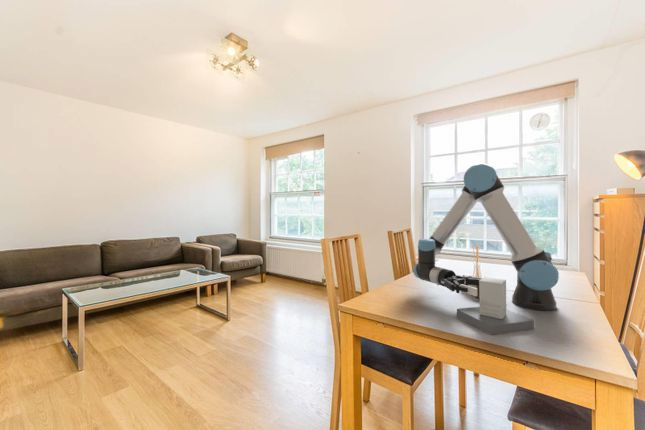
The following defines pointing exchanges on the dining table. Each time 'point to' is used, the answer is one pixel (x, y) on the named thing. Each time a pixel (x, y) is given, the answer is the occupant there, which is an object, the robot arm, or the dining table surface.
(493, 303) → the supplement box
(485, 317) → the gray board
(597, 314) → the dining table surface
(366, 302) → the dining table surface
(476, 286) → the tin
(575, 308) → the dining table surface
